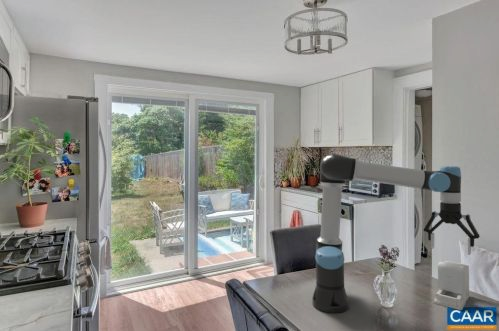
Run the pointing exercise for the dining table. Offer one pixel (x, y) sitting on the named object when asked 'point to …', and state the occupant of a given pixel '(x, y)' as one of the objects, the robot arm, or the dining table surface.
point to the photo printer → (451, 277)
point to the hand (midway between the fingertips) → (450, 251)
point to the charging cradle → (453, 298)
